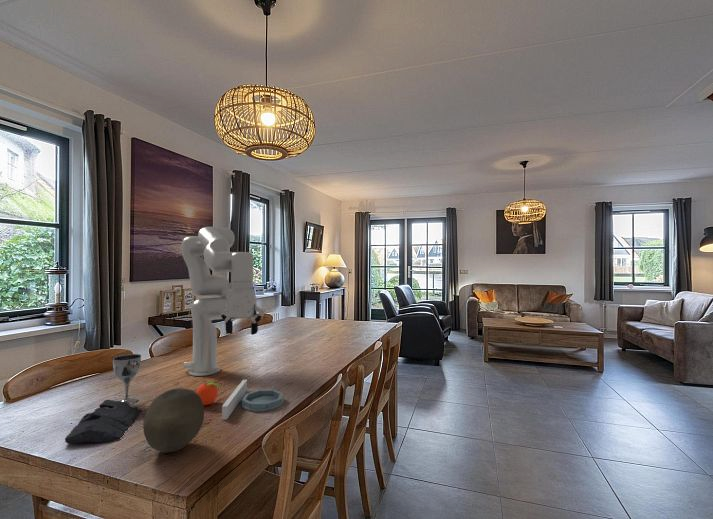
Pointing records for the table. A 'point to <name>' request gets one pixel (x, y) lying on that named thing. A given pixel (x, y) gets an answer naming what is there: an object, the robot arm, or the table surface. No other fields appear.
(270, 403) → the grey shallow dish
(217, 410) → the table surface
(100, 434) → the dark slate chunk
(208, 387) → the clementine
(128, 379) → the wine glass
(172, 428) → the cantaloupe
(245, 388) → the low wall
